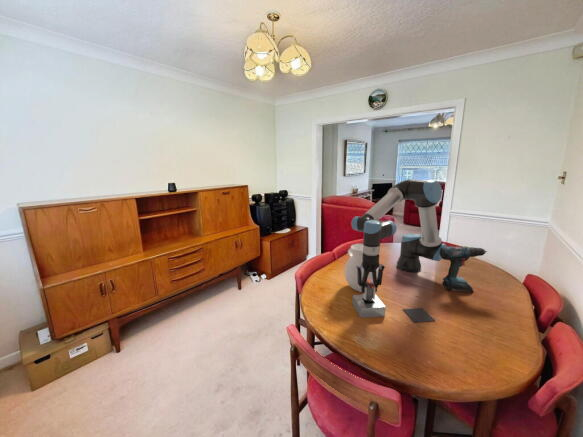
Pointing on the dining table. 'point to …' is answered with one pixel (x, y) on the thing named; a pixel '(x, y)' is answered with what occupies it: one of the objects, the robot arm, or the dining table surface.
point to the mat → (418, 315)
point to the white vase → (351, 266)
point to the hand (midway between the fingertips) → (368, 297)
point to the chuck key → (369, 291)
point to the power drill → (457, 260)
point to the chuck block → (368, 307)
